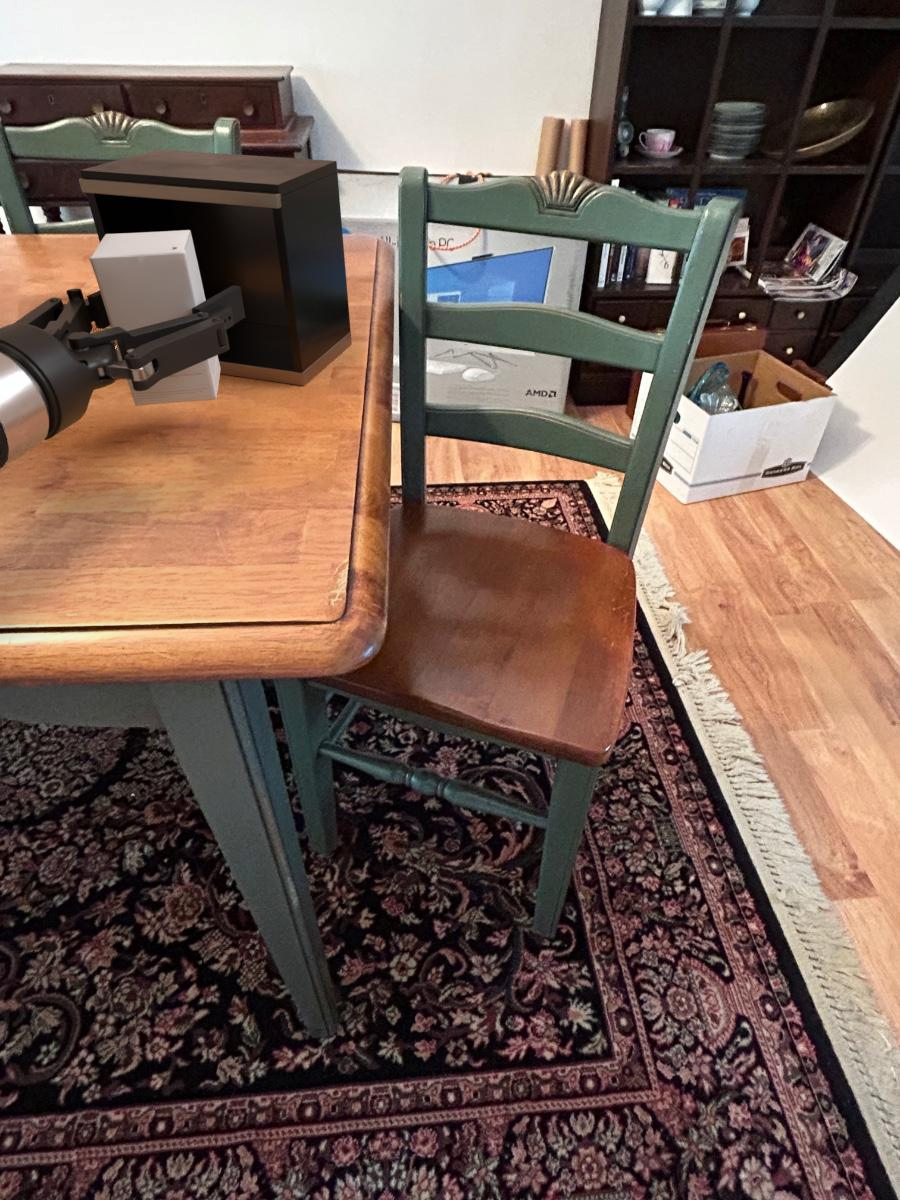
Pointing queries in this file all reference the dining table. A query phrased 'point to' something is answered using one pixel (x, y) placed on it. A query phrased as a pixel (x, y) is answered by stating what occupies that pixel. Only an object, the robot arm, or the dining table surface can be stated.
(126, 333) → the robot arm
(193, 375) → the white packaging box
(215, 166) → the open cubby shelf
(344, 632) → the dining table surface
